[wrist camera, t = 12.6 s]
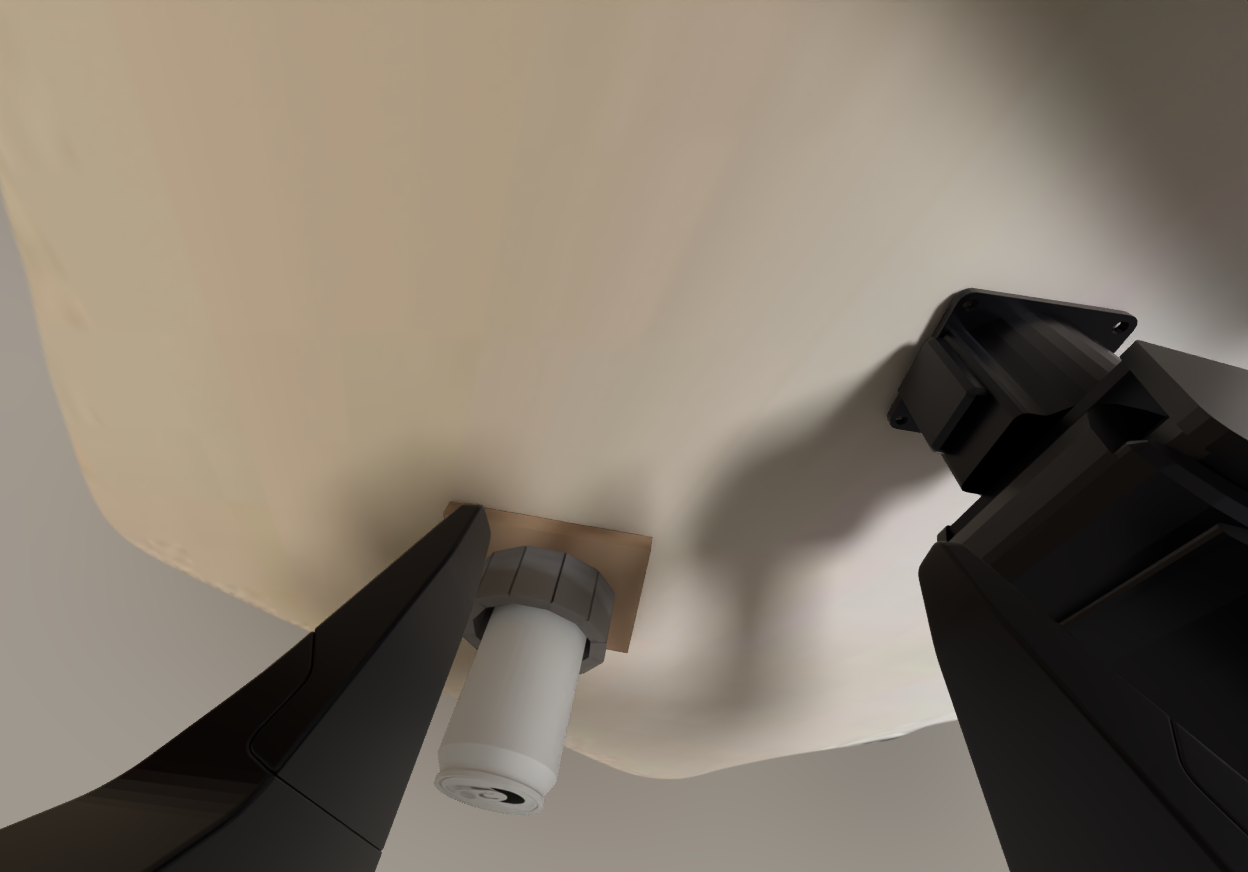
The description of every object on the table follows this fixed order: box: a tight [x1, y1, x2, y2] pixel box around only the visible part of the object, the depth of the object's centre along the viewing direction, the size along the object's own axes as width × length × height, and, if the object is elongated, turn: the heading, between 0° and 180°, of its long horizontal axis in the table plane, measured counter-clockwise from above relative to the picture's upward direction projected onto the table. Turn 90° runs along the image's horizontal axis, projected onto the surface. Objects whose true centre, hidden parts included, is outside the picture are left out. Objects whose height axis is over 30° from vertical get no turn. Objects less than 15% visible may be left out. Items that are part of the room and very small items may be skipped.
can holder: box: [443, 502, 652, 674], centre depth 32 cm, size 13×13×4 cm
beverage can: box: [434, 604, 587, 815], centre depth 28 cm, size 6×6×12 cm
